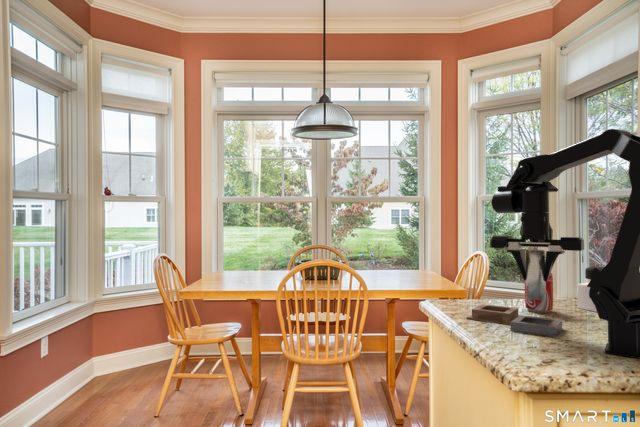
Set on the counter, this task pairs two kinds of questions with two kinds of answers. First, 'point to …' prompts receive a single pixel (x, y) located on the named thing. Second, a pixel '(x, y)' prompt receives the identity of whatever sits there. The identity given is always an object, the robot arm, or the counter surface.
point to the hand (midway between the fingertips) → (535, 280)
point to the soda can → (541, 305)
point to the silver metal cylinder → (535, 275)
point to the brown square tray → (494, 314)
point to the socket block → (536, 325)
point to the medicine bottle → (586, 292)
